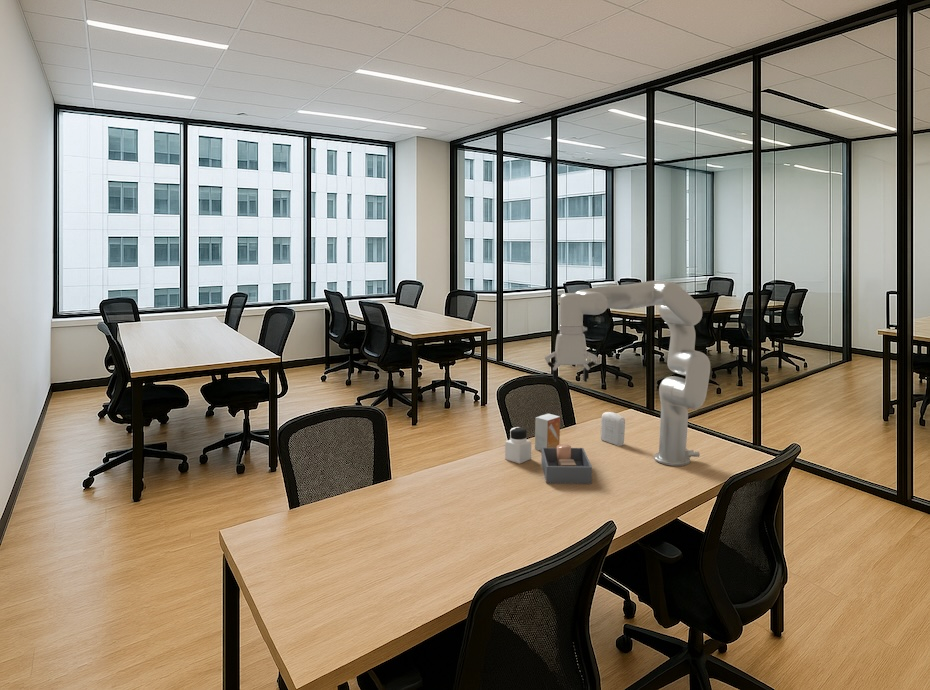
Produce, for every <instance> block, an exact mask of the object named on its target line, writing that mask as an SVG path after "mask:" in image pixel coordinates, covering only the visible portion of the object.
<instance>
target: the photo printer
mask: <svg viewBox="0 0 930 690" xmlns="http://www.w3.org/2000/svg"><path fill="white" fill-rule="evenodd" d="M600 422H601V426H600V440H601V441H602V442H603V441H604V442H606V443H609V444H612V445H615V446H617V447H621V446H623V445H624V444H625V432H626V431H625V430H626V419H625V418H624V417H623V416H622V415H620V414H619V413H616V412H613V411H606V412H603V413H602V415H601V421H600Z"/></svg>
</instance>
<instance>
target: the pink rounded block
mask: <svg viewBox="0 0 930 690" xmlns="http://www.w3.org/2000/svg"><path fill="white" fill-rule="evenodd" d="M571 448H572V447H571V445H570V444H566V443H565V444H564V443H563V444H560V443H559V445H557V466H559V460H564V459H571Z"/></svg>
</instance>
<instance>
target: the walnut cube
mask: <svg viewBox="0 0 930 690" xmlns="http://www.w3.org/2000/svg"><path fill="white" fill-rule="evenodd" d="M559 466H572V467H576V464H575V462H574V460H573V459H564V460H559Z"/></svg>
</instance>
